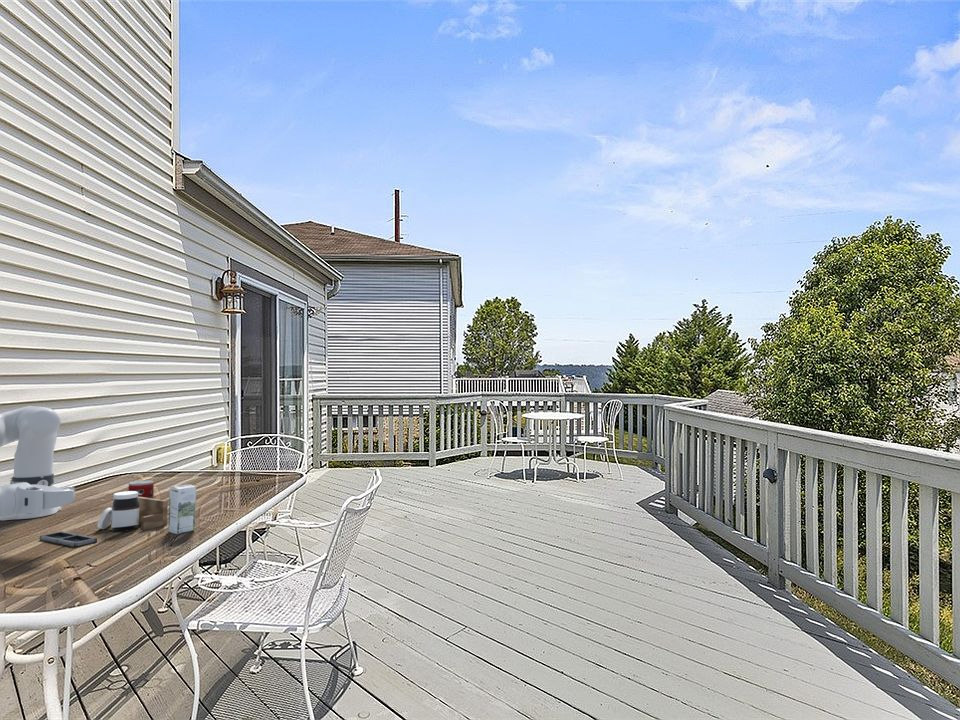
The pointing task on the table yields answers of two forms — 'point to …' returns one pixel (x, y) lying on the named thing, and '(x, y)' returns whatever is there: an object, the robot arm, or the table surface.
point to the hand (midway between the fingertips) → (72, 489)
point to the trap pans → (68, 539)
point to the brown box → (152, 512)
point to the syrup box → (182, 509)
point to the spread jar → (122, 512)
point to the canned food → (142, 488)
